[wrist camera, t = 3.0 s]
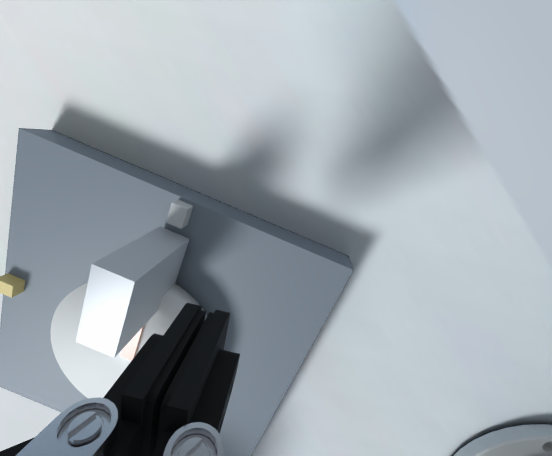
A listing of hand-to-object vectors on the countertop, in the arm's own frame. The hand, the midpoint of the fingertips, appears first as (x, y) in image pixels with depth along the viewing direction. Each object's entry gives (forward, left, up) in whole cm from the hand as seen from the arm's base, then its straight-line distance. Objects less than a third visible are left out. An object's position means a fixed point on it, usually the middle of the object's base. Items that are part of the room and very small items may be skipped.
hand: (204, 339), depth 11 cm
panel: (+4, +7, -8) cm, 12 cm away
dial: (+4, +6, -6) cm, 9 cm away
